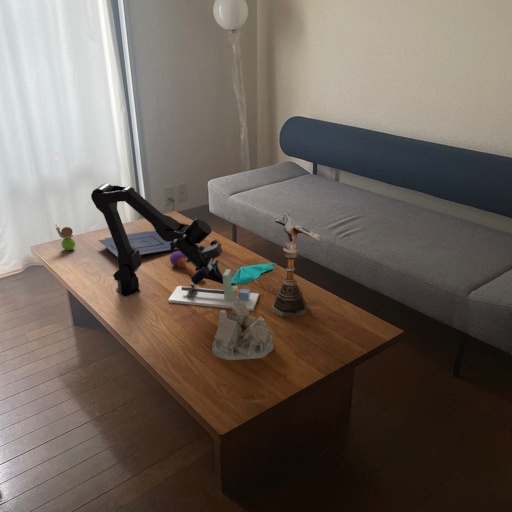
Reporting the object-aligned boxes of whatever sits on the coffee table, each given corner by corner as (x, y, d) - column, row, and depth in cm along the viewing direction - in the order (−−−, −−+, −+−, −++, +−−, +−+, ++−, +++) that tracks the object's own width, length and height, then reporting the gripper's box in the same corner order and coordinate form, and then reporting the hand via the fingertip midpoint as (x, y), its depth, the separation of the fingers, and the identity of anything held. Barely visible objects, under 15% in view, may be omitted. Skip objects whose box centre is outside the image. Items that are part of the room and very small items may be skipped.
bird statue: (296, 290, 184) (299, 197, 169) (323, 304, 175) (328, 207, 160) (261, 306, 174) (261, 209, 159) (288, 321, 165) (290, 220, 150)
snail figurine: (59, 248, 218) (54, 222, 213) (75, 246, 221) (70, 220, 216) (61, 253, 214) (55, 227, 209) (76, 251, 216) (72, 224, 211)
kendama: (191, 275, 187) (165, 252, 201) (194, 287, 191) (169, 265, 205) (205, 268, 190) (179, 246, 204) (208, 280, 193) (182, 258, 207)
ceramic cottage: (204, 348, 153) (205, 305, 146) (243, 328, 163) (246, 287, 157) (240, 374, 143) (243, 329, 136) (279, 351, 154) (284, 308, 147)
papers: (96, 244, 219) (96, 236, 218) (159, 235, 237) (160, 228, 235) (119, 264, 202) (119, 256, 200) (186, 253, 219) (186, 245, 218)
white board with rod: (168, 302, 177) (167, 290, 175) (177, 288, 186) (177, 277, 184) (253, 310, 172) (253, 298, 170) (258, 295, 181) (258, 284, 179)
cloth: (269, 260, 209) (269, 255, 208) (289, 272, 198) (289, 267, 197) (213, 276, 196) (212, 271, 195) (231, 291, 185) (231, 285, 184)
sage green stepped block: (223, 300, 176) (222, 275, 171) (227, 293, 180) (226, 268, 176) (235, 301, 175) (234, 276, 171) (238, 294, 179) (237, 269, 175)
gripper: (198, 248, 161) (233, 282, 164) (214, 226, 177) (246, 257, 180) (176, 268, 166) (210, 301, 168) (194, 245, 182) (225, 275, 185)
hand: (224, 282), depth 175 cm, fingers closed, pressing on sage green stepped block
